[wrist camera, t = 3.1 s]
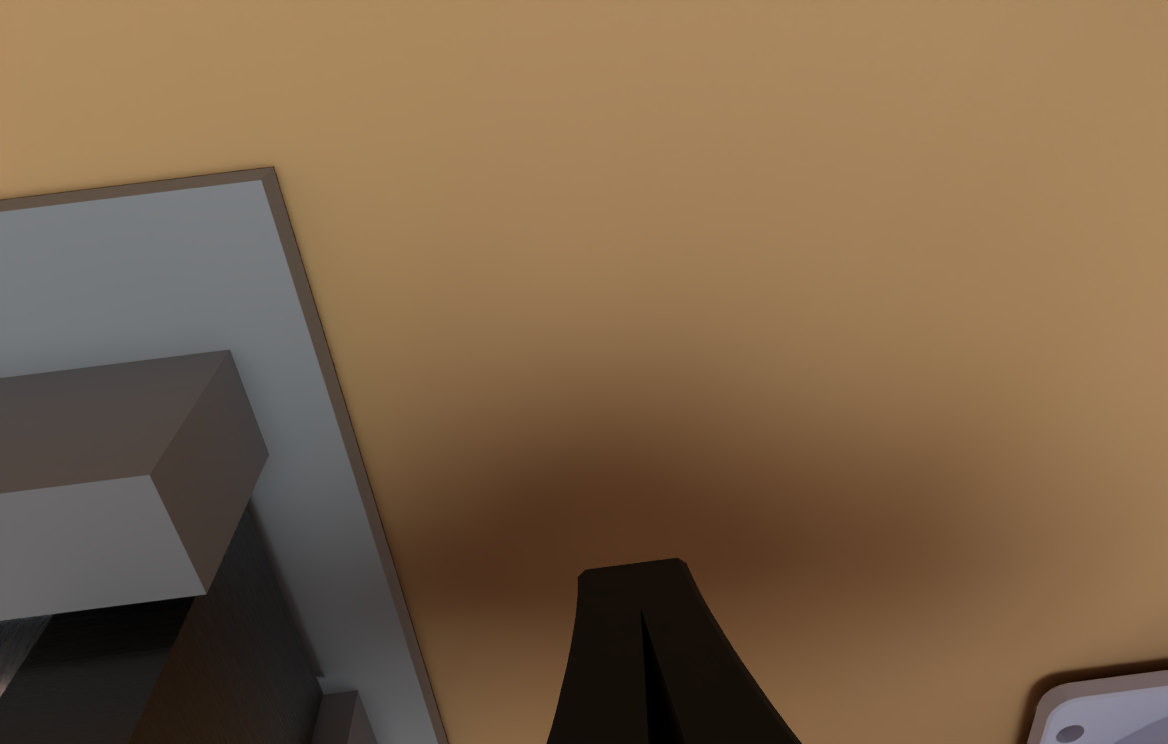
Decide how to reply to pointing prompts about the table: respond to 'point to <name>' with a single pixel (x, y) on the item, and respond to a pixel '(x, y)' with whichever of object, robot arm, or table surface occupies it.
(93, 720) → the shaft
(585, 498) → the table surface
